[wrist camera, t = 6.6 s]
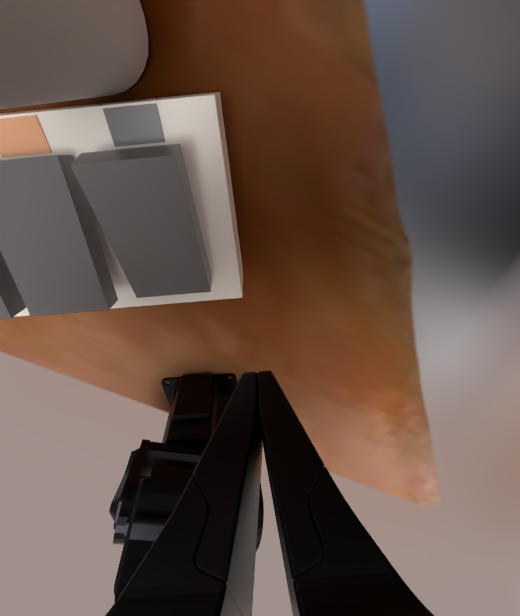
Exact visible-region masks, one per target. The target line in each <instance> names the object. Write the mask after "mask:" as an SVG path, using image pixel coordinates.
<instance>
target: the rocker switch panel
mask: <svg viewBox="0 0 520 616" xmlns="http://www.w3.org/2000/svg"><path fill="white" fill-rule="evenodd" d="M171 144H180V145H181V149H182V154H183V158H184V162H185V166H186V170H187V174H188V178H189V183H190V187H191V191H192V195H193V199H194V203H195V207H196V212H197V216H198V220H199V224H200V228H201V232H202V236H203V241H204V245H205V249H206V253H207V257H208V261H209V265H210V270H211V274H212V286H211V292H202V293H190V294H178V295H166V296H154V297H142V298H137V297H136V295H135V293H134V291H133V289H132V287H131V285H130V283H129V281H128V279H127V277H126V275H125V273H124V272H123V270H122V268H121V266H120V264H119V262H118V260H117V258H116V256H115V254H114V252H113V250H112V248H111V246H110V244H109V242H108V240H107V238H106V236H105V234H104V232H103V230H102V228H101V226H100V224H99V222H98V220H97V218H96V216H95V214H94V212H93V210H92V208H91V206H90V204H89V202H88V200H87V202H88V205H89V208H90V212H91V215H92V218H93V221H94V224H95V228H96V231H97V234H98V237H99V240H100V243H101V247H102V250H103V253H104V256H105V259H106V263H107V266H108V269H109V272H110V275H111V279H112V282H113V285H114V288H115V291H116V294H117V298H118V301H117V302H116V303H115V304H114V305H113V306H112V307H111V308H110V309H112V308H124V307H136V306H148V305H160V304H172V303H184V302H196V301H208V300H220V299H233V298H242V294H243V268H242V260H241V252H240V244H239V236H238V229H237V221H236V213H235V205H234V197H233V190H232V182H231V174H230V166H229V158H228V151H227V143H226V135H225V127H224V119H223V112H222V104H221V96H220V92H214V93H204V94H194V95H183V96H173V97H163V98H153V99H143V100H133V101H122V102H112V103H102V104H92V105H82V106H72V107H61V108H51V109H41V110H31V111H21V112H11V113H0V161H1V160H11V159H22V158H32V157H43V156H54V155H73V157H74V160H75V159H76V158H77V157H78V156H79V155H80V154H81V153H87V152H97V151H108V150H118V149H129V148H139V147H150V146H161V145H171ZM86 199H87V198H86ZM27 315H30V314H29V312H28V309H27V308H25V309H24V310H22V311H21V312H19V313H18V314H16V315H15V316H27ZM15 316H14V317H15Z"/></svg>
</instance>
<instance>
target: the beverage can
mask: <svg viewBox="0 0 520 616" xmlns="http://www.w3.org/2000/svg"><path fill="white" fill-rule="evenodd" d="M147 57H148V33H147V27H146V22H145V17H144V13H143V10H142V7H141V4H140V1H139V0H0V109H7V108H15V107H23V106H31V105H39V104H47V103H55V102H62V101H70V100H78V99H86V98H94V97H102V96H110V95H115V94H118V93H121V92H124V91H126V90H128V89H129V88H130V87H131V86H133V85H134V84H135V83H136V82H137V81H138V79H139V77H140V76H141V74H142V73H143V71H144V68H145V65H146V61H147Z"/></svg>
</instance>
